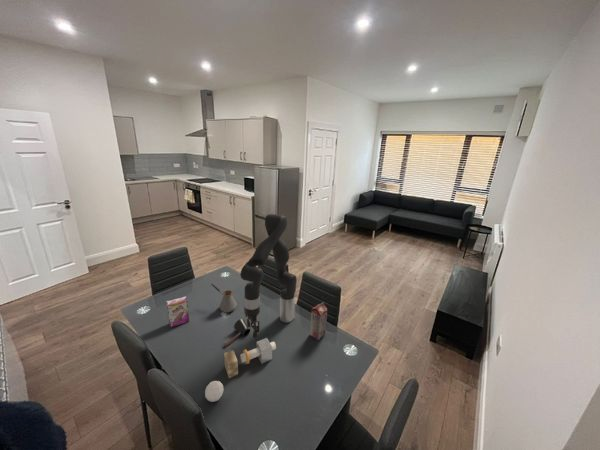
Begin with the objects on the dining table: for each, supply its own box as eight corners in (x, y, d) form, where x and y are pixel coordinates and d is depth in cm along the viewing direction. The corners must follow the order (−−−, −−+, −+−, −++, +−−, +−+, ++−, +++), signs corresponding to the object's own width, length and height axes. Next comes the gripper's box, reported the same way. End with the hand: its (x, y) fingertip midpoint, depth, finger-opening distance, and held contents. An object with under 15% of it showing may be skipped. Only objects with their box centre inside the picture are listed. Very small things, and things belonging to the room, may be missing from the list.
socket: (233, 362, 126) (233, 349, 123) (238, 374, 120) (237, 360, 117) (225, 366, 123) (224, 353, 121) (228, 378, 117) (228, 364, 115)
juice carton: (325, 334, 148) (328, 304, 141) (318, 340, 143) (321, 309, 136) (316, 329, 152) (319, 299, 145) (309, 334, 147) (312, 303, 141)
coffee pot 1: (240, 307, 169) (239, 288, 164) (228, 316, 159) (227, 297, 155) (218, 297, 178) (217, 279, 174) (205, 305, 169) (204, 287, 164)
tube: (271, 345, 136) (272, 336, 133) (277, 354, 130) (277, 344, 128) (239, 358, 126) (239, 348, 124) (243, 368, 121) (243, 358, 119)
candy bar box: (170, 328, 147) (166, 305, 142) (169, 323, 151) (165, 301, 146) (189, 322, 153) (187, 299, 148) (188, 317, 157) (185, 295, 152)
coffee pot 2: (244, 324, 153) (252, 332, 148) (218, 341, 141) (226, 351, 136) (243, 316, 149) (251, 324, 144) (217, 333, 137) (225, 343, 132)
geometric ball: (219, 401, 109) (227, 395, 105) (202, 406, 104) (209, 400, 100) (218, 382, 114) (225, 376, 110) (201, 386, 109) (208, 380, 105)
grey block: (266, 350, 135) (266, 337, 132) (272, 359, 129) (272, 346, 126) (256, 354, 132) (256, 341, 129) (261, 363, 126) (261, 350, 123)
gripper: (264, 310, 113) (264, 338, 118) (254, 294, 125) (254, 320, 129) (249, 314, 109) (249, 343, 114) (240, 298, 121) (240, 325, 126)
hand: (252, 331), depth 122 cm, fingers open, 8 cm apart
